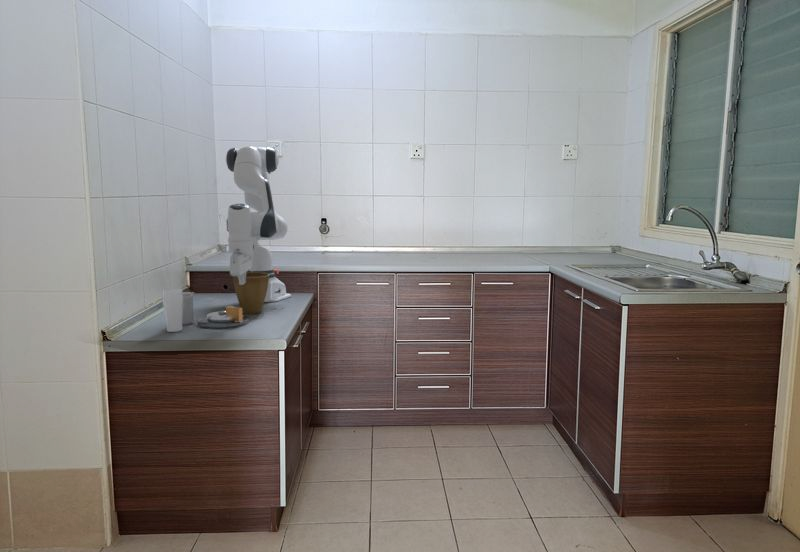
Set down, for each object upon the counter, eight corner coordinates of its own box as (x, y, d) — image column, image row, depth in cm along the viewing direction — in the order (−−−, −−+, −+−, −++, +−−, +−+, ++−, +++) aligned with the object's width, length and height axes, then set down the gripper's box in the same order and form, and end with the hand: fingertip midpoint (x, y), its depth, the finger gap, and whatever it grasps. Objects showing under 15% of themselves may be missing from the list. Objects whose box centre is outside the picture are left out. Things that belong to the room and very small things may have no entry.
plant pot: (251, 317, 235) (250, 278, 233) (226, 313, 243) (224, 275, 241) (277, 310, 247) (276, 273, 245) (253, 307, 255) (251, 271, 253)
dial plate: (224, 315, 237) (224, 312, 237) (259, 320, 228) (259, 317, 228) (186, 325, 221) (186, 321, 221) (223, 330, 212) (223, 326, 212)
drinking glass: (173, 333, 207) (171, 292, 205) (160, 331, 211) (158, 290, 209) (188, 330, 213) (186, 289, 211) (175, 327, 216) (173, 288, 214)
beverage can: (196, 321, 227) (195, 291, 225) (190, 325, 220) (188, 294, 218) (180, 321, 227) (178, 291, 225) (173, 325, 220) (171, 294, 219)
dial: (200, 320, 223) (199, 306, 222) (225, 314, 233) (224, 301, 232) (228, 325, 214) (227, 311, 214) (252, 319, 224) (252, 305, 224)
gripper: (242, 251, 208) (243, 289, 210) (255, 244, 228) (256, 279, 231) (224, 251, 208) (226, 289, 210) (239, 244, 228) (240, 279, 230)
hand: (242, 284), depth 221 cm, fingers closed
